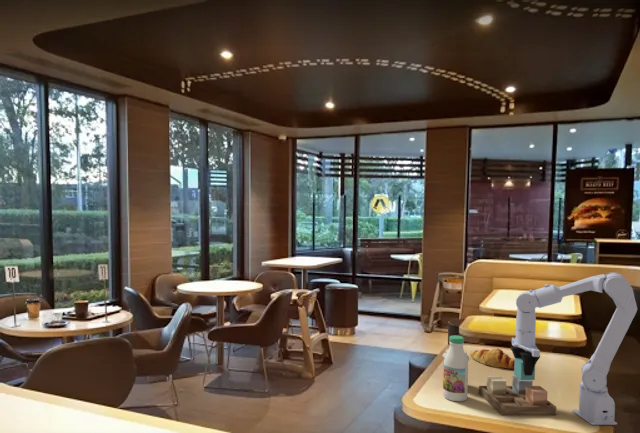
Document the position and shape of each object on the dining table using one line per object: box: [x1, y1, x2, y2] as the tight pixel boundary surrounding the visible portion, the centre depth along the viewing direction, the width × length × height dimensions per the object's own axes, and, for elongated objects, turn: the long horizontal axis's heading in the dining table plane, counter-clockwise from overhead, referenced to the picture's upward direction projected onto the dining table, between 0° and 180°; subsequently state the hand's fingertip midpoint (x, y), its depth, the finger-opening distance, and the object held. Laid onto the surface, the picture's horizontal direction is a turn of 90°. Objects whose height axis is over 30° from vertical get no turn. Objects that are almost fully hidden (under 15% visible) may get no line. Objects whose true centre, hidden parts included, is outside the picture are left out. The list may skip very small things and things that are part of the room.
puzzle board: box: [478, 375, 557, 416], centre depth 149 cm, size 17×17×6 cm
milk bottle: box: [442, 334, 469, 402], centre depth 153 cm, size 8×8×20 cm
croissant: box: [469, 348, 515, 370], centre depth 188 cm, size 21×10×8 cm, turn 45°
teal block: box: [513, 358, 536, 381], centre depth 149 cm, size 4×4×6 cm
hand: (524, 372), depth 149 cm, fingers closed on teal block, 4 cm apart
